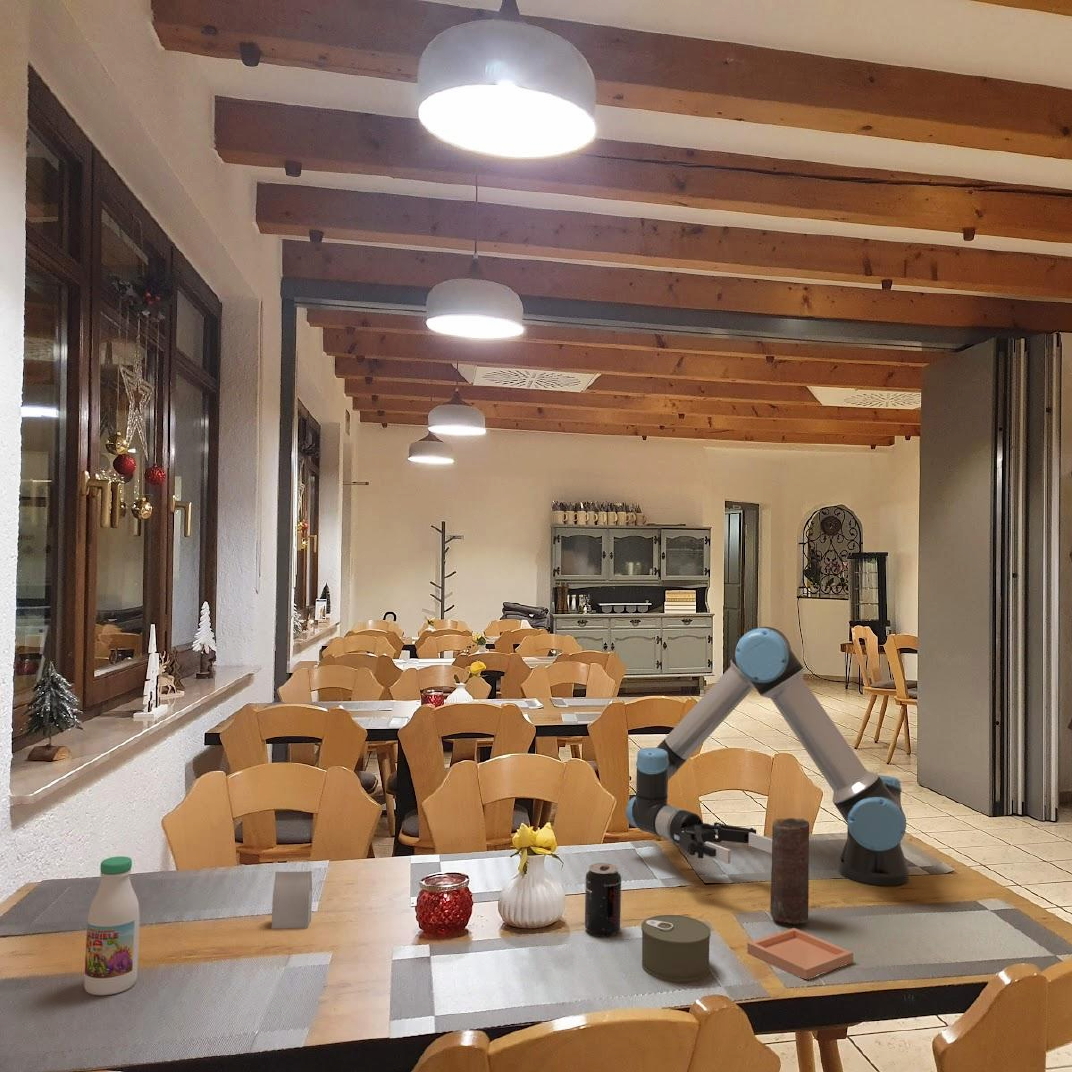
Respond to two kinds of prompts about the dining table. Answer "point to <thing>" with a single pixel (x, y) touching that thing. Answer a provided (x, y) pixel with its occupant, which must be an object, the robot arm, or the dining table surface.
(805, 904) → the candle
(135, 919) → the milk bottle
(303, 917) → the gray rectangular block
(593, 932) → the beverage can
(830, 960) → the dish
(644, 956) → the can
